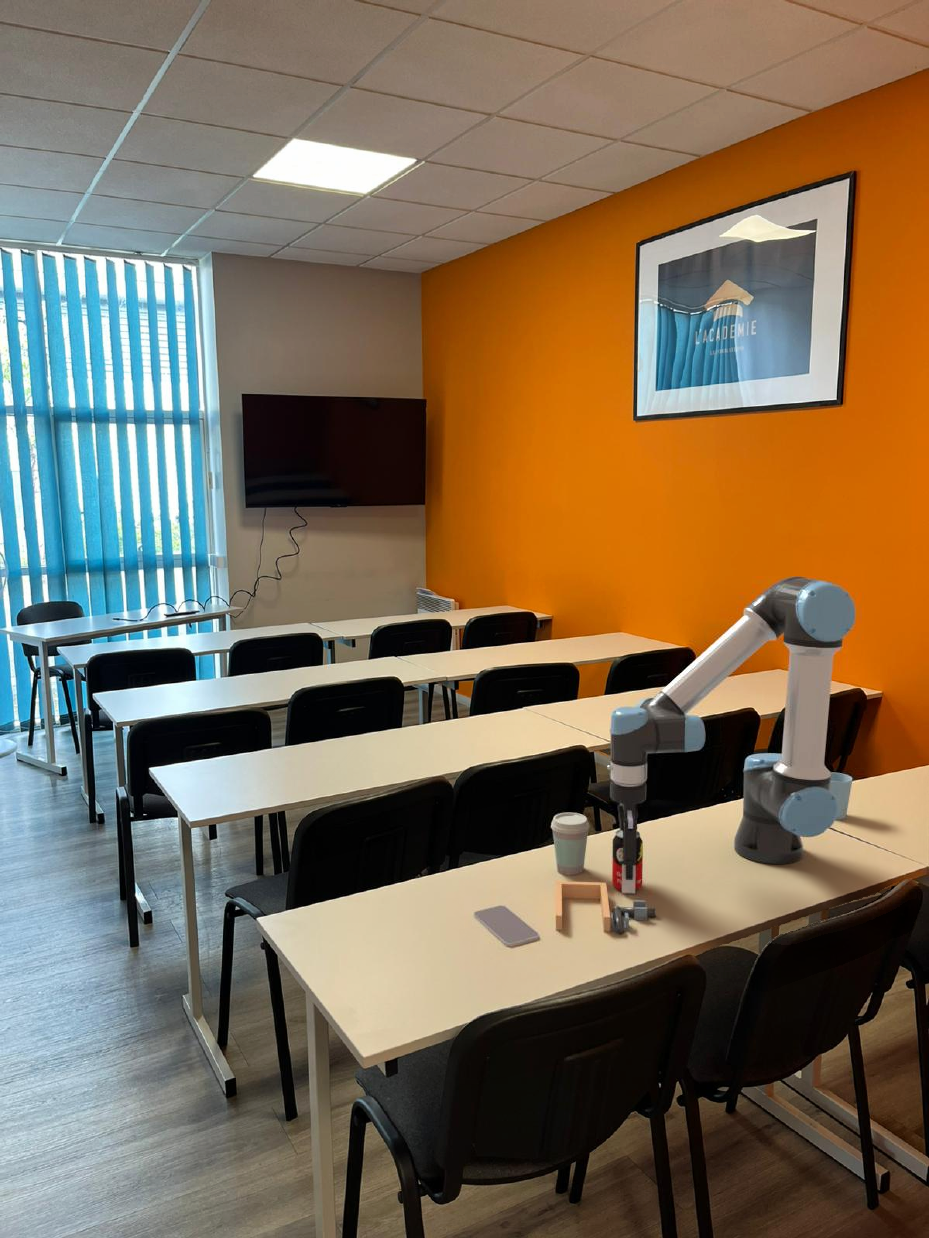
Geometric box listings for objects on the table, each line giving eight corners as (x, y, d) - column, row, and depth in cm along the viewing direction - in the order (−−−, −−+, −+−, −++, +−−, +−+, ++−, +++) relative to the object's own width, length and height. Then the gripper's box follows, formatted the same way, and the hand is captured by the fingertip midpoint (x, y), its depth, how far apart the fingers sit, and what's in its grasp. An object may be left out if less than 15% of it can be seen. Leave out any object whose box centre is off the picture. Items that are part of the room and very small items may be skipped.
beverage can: (606, 883, 193) (606, 830, 192) (631, 878, 196) (631, 825, 194) (622, 895, 188) (623, 840, 186) (648, 889, 190) (648, 835, 188)
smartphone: (503, 904, 184) (541, 935, 170) (503, 908, 184) (541, 939, 170) (471, 912, 180) (507, 944, 167) (471, 916, 181) (507, 949, 167)
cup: (835, 823, 225) (837, 783, 224) (811, 813, 232) (813, 775, 230) (857, 818, 228) (859, 778, 227) (832, 809, 235) (834, 770, 234)
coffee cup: (588, 862, 204) (588, 811, 203) (590, 878, 196) (590, 825, 194) (551, 861, 205) (550, 811, 204) (550, 877, 197) (550, 825, 195)
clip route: (654, 911, 180) (654, 900, 180) (659, 935, 170) (660, 924, 170) (607, 910, 181) (607, 899, 181) (610, 934, 171) (610, 922, 171)
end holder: (605, 896, 187) (605, 882, 187) (610, 931, 172) (610, 917, 172) (555, 894, 188) (555, 881, 188) (555, 929, 173) (555, 915, 173)
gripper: (607, 766, 198) (606, 865, 201) (613, 796, 179) (612, 905, 182) (642, 767, 197) (640, 866, 201) (651, 796, 178) (649, 906, 182)
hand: (627, 884), depth 192 cm, fingers closed on beverage can, 6 cm apart
